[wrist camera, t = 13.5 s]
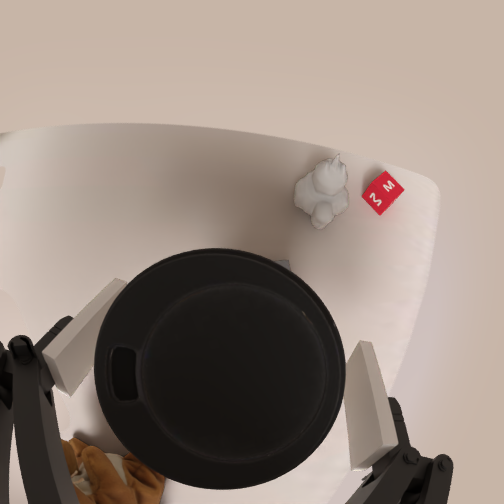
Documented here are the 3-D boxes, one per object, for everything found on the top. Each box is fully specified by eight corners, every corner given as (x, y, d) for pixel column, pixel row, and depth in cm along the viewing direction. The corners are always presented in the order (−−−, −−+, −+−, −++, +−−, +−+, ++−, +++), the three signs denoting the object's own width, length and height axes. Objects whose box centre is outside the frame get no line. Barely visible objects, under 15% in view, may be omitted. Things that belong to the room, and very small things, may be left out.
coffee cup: (151, 339, 22) (41, 308, 8) (247, 287, 24) (265, 187, 10) (207, 435, 19) (170, 536, 5) (305, 380, 21) (407, 408, 7)
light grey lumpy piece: (339, 188, 30) (365, 140, 22) (340, 242, 27) (373, 201, 20) (292, 179, 30) (307, 127, 22) (288, 233, 27) (306, 188, 20)
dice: (375, 185, 30) (385, 170, 28) (392, 203, 30) (404, 189, 27) (361, 196, 30) (371, 182, 27) (379, 215, 29) (391, 202, 26)
